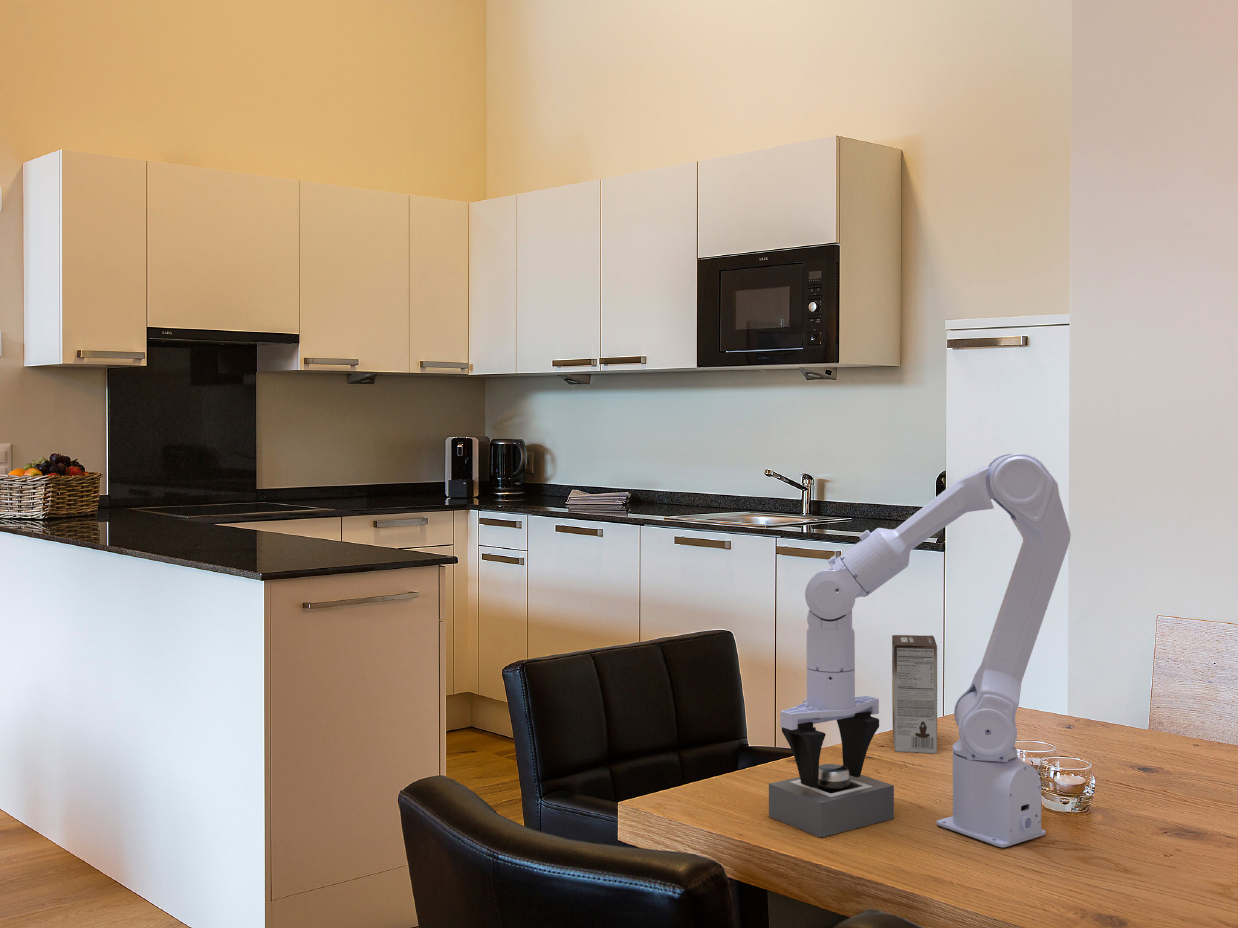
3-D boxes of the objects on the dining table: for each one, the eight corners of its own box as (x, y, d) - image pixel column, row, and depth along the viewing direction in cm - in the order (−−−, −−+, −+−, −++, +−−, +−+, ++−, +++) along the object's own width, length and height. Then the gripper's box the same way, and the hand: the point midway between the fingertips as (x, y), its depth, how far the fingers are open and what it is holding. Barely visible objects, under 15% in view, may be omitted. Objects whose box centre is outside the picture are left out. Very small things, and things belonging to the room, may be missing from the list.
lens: (857, 819, 130) (856, 769, 130) (829, 825, 128) (829, 774, 128) (835, 810, 133) (835, 761, 133) (808, 815, 132) (808, 765, 132)
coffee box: (891, 736, 169) (891, 633, 169) (933, 738, 167) (933, 634, 167) (894, 752, 160) (894, 643, 160) (939, 754, 158) (938, 645, 158)
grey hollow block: (894, 818, 130) (893, 784, 130) (821, 837, 124) (820, 802, 124) (840, 798, 138) (840, 767, 138) (768, 816, 131) (768, 782, 131)
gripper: (849, 656, 138) (850, 762, 138) (763, 669, 130) (763, 781, 130) (891, 665, 132) (891, 776, 132) (803, 679, 124) (804, 797, 124)
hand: (831, 780), depth 131 cm, fingers open, 7 cm apart
